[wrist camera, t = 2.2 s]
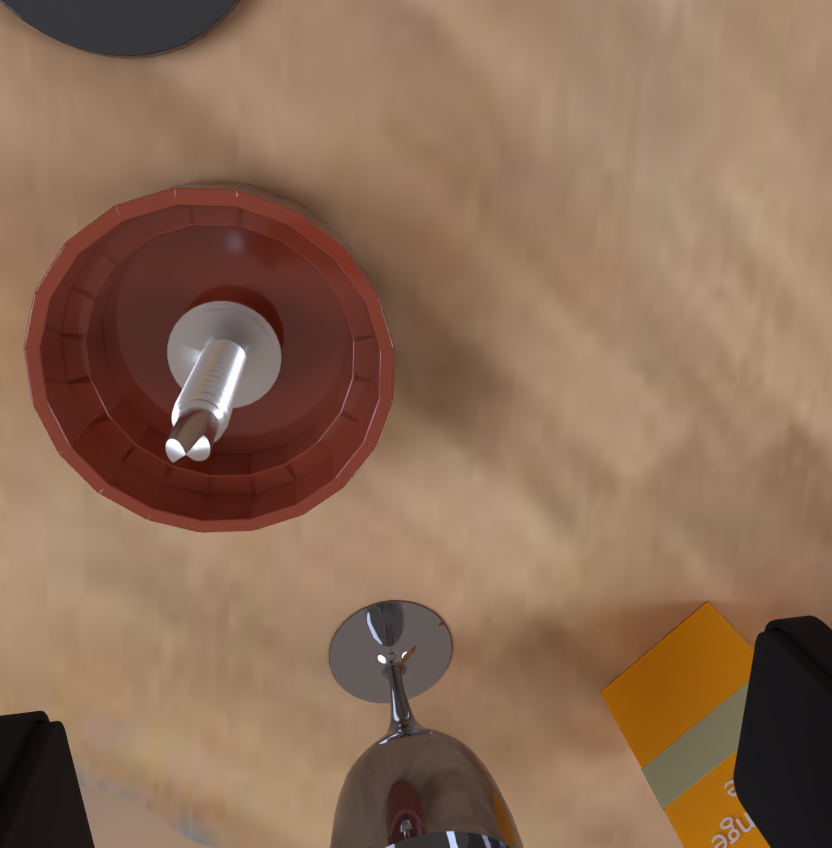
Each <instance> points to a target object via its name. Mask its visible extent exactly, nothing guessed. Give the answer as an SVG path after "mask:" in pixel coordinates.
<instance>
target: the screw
mask: <svg viewBox="0 0 832 848" xmlns="http://www.w3.org/2000/svg"><path fill="white" fill-rule="evenodd" d="M167 358H168V363H169V367H170V370H171V372H172V374H173V376H174V378H175V380H176V382H177V383H178V384H179V386H180V387H181V388H182V391H181V393H180V395H179V397H178V399H177V401H176V403H175V406H174V409H173V413H172V424H173V429H172V431H171V433H170V435H169V438H168V440H167V443H166V453H167V456H168V458H169V459H170V460H171V461H172V462H175V461H176V460H178V459H180V458H181V457H183V456H184V455H187V456H188V457H190V458H191V459H193V460H195V461H203V460H205V459H207V458H208V457H209V455H210V452H211V448H212V445H213V443H214V442H216V441H217V440H218V439H219V438H220V437H221V436H222V434H223V433H224V431H225V430H226V428H227V426H228V423H229V420H230V417H231V413H232V409H233V408H238V407H242V406H245V405H249V404H251V403H253V402H255V401H256V400H258V399H260V398H261V397H262V396H263V395H265V394H266V393H267V392H268V391H269V390H270V388H271V387H272V386H273V384H274V383H275V381H276V379H277V376H278V374H279V371H280V365H281V359H282V357H281V346H280V342H279V339H278V336H277V334H276V332H275V330H274V329H273V327H272V325H271V324H270V323H269V322H268V320H267V319H266V318H265V317H264V316H263V315H262V314H260V313H259V312H258V311H256V310H255V309H254V308H252V307H249V306H247V305H245V304H243V303H240V302H235V301H231V300H214V301H208V302H204V303H202V304H199V305H197V306H195V307H193V308H192V309H190V310H189V311H188V312H186V313H185V314H184V315H183V316H182V317H181V318H180V319H179V321H178V322H177V323H176V324H175V326H174V328H173V330H172V332H171V334H170V337H169V342H168V346H167Z"/></svg>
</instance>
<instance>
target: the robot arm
mask: <svg viewBox="0 0 832 848" xmlns="http://www.w3.org/2000/svg"><path fill="white" fill-rule="evenodd" d="M733 782H734V788H735V791H736V794H737V797H738V799H739V801H740V803H741V805H742V806H743V808H744V809H745V811H746V812H747V814H748V815H749V817H750V818H751V820H752V821H753V822H754V824H755V825H756V827H757V828H758V830H759V831H760V833H761V834H762V836H763V837H764V839H765V840H766V841H767V843H768V844H769V846H770V847H771V848H832V630H831V629H830V628H829V627H828V626H827V625H826V624H825V623H823V622H822V621H821V620H819V619H818V618H816V617H814V616H801V617H793V618H785V619H777V620H773V621H770V622H769V623H768V624H767V625H766V628H765V631H764V632H762V633H760V634H759V635H758V636H757V639H756V643H755V649H754V655H753V661H752V667H751V672H750V678H749V684H748V690H747V696H746V702H745V708H744V714H743V720H742V726H741V732H740V738H739V744H738V750H737V756H736V762H735V768H734V774H733ZM0 848H95V847H94V844H93V839H92V835H91V831H90V828H89V823H88V819H87V815H86V811H85V808H84V804H83V800H82V796H81V792H80V788H79V784H78V780H77V776H76V772H75V768H74V764H73V760H72V756H71V752H70V748H69V744H68V740H67V736H66V732H65V729H64V726H63V724H62V723H61V722H60V721H54V722H50V721H49V718H48V716H47V715H46V713H45V712H44V711H35V712H27V713H19V714H11V715H3V716H0Z"/></svg>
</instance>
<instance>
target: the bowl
mask: <svg viewBox="0 0 832 848" xmlns="http://www.w3.org/2000/svg"><path fill="white" fill-rule="evenodd" d="M35 291H36V292H35V293H34V297H33V302H32V307H31V312H30V317H29V322H28V327H27V332H26V337H25V342H24V347H25V348H24V354H25V360H26V367H27V373H28V379H29V386H30V392H31V398H32V403H33V406H34V408H35V409H36V411H37V413H38V415H39V417H40V419H41V421H42V423H43V425H44V427H45V428H46V430H47V432H48V434H49V436H50V438H51V440H52V442H53V444H54V446H55V447H56V449H57V451H58V452H59V455H60V456H61V457H62V458H63V459H64V460H65V461H66V462H67V463H68V464H69V465H70V466H71V467H72V468H73V469H74V470H75V471H76V472H77V473H78V474H79V475H80V476H81V477H82V478H84V479H85V480H86V481H87V482H88V483H89V484H90V485H91V486H92V487H93V488H94V489H95V490H96V491H97V492H98V493H100V494H101V495H103V496H105V497H106V498H108V499H110V500H112V501H114V502H115V503H117V504H119V505H121V506H123V507H125V508H126V509H128V510H130V511H132V512H134V513H135V514H137V515H139V516H141V517H143V518H144V519H148V520H150V521H154V522H158V523H162V524H166V525H171V526H175V527H179V528H183V529H187V530H191V531H196V532H231V531H252V530H257V529H260V528H263V527H266V526H270V525H273V524H276V523H279V522H282V521H285V520H288V519H292V518H295V517H298V516H301V515H303V514H305V513H306V512H308V511H309V510H311V509H312V508H314V507H315V506H317V505H318V504H320V503H321V502H323V501H324V500H326V499H327V498H328V497H330V496H331V495H333V494H334V493H336V492H337V491H339V490H340V489H342V488H343V487H344V486H345V485H346V484H347V483H348V481H349V480H350V479H351V477H352V476H353V475H354V474H355V472H356V471H357V470H358V469H359V467H360V466H361V465H362V464H363V462H364V461H365V460H366V459H367V457H368V456H369V455H370V454H371V452H372V451H373V450H374V448H375V446H376V444H377V442H378V439H379V436H380V434H381V431H382V428H383V425H384V423H385V420H386V417H387V415H388V412H389V409H390V407H391V404H392V400H393V380H394V345H393V342H392V338H391V335H390V332H389V329H388V325H387V322H386V319H385V315H384V312H383V309H382V305H381V302H380V299H379V296H378V294H377V292H376V290H375V288H374V286H373V284H372V282H371V280H370V278H369V276H368V274H367V272H366V271H365V269H364V268H363V267H362V265H361V264H360V262H359V261H358V259H357V258H356V257H355V255H354V254H353V252H352V251H351V249H350V248H349V246H348V245H347V244H346V242H345V241H344V239H343V238H342V236H340V235H339V233H338V232H336V231H335V230H334V229H332V228H331V227H330V226H328V225H327V224H326V223H325V222H323V221H322V220H321V219H319V218H318V217H317V216H316V215H314V214H313V213H312V212H310V211H309V210H308V209H306V208H305V207H304V206H303V205H301V204H299V203H298V202H296V201H294V200H291V199H288V198H285V197H283V196H280V195H277V194H274V193H272V192H269V191H266V190H263V189H261V188H258V187H255V186H252V185H250V184H248V185H247V184H239V183H210V182H194V183H188V184H185V185H181V186H178V187H174V188H171V189H167V190H164V191H161V192H158V193H154V194H151V195H148V196H144V197H141V198H138V199H134V200H131V201H128V202H125V203H121V204H118V205H116V206H114V207H112V208H110V209H109V210H108V211H106V212H105V213H104V214H102V215H101V216H100V217H98V218H97V219H96V220H94V221H93V222H92V223H90V224H89V225H88V226H86V227H85V228H84V229H82V230H81V231H80V232H78V233H77V234H76V235H74V236H73V237H72V238H70V239H69V240H68V241H67V243H65V244H64V246H63V247H62V249H61V250H60V252H59V253H58V255H57V257H56V258H55V260H54V261H53V263H52V264H51V266H50V268H49V269H48V271H47V272H46V274H45V276H44V277H43V279H42V280H41V282H40V283H39V285H38V287H37V288H36V290H35ZM214 300H231V301H235V302H240V303H243V304H245V305H247V306H249V307H252V308H254V309H255V310H256V311H258V312H259V313H260V314H262V315H263V316H264V317H265V318H266V319H267V320H268V322H269V323H270V324H271V325H272V327H273V329H274V330H275V332H276V334H277V336H278V339H279V342H280V346H281V357H282V359H281V365H280V371H279V374H278V376H277V379H276V381H275V383H274V384H273V386H272V387H271V388H270V390H269V391H268V392H267V393H266V394H265V395H263V396H262V397H261V398H260V399H258V400H256V401H255V402H253V403H251V404H249V405H245V406H242V407H238V408H233V409H232V413H231V417H230V420H229V423H228V426H227V428H226V430H225V431H224V433H223V434H222V436H221V437H220V438H219V439H218V440H217V441H216V442H214V443H213V445H212V448H211V452H210V455H209V457H208V458H207V459H205V460H203V461H195V460H193V459H191V458H190V457H188V456H187V455H184V456H183V457H181V458H180V459H178V460H176V461H175V462H172V461H171V460H170V459H169V458H168V456H167V453H166V443H167V440H168V438H169V435H170V433H171V431H172V429H173V424H172V413H173V409H174V406H175V403H176V401H177V399H178V397H179V395H180V393H181V391H182V388H181V387H180V386H179V384H178V383H177V382H176V380H175V378H174V376H173V374H172V372H171V370H170V367H169V363H168V358H167V346H168V342H169V337H170V334H171V332H172V330H173V328H174V326H175V324H176V323H177V322H178V321H179V319H180V318H181V317H182V316H183V315H184V314H185V313H186V312H188V311H189V310H190V309H192V308H193V307H195V306H197V305H199V304H202V303H204V302H208V301H214Z"/></svg>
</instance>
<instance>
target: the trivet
mask: <svg viewBox="0 0 832 848" xmlns="http://www.w3.org/2000/svg"><path fill="white" fill-rule="evenodd" d="M239 1H240V0H0V2H1V3H2V4H3V5H5V6H6V7H7V8H8V9H9V10H11V11H12V12H13V13H14V14H16V15H17V16H18V17H19V18H21V19H22V20H23V21H25V22H26V23H28V24H29V25H31V26H33V27H34V28H36V29H37V30H39V31H40V32H42V33H44V34H46V35H48V36H50V37H52V38H54V39H56V40H58V41H60V42H62V43H64V44H66V45H69V46H72V47H75V48H77V49H80V50H83V51H86V52H89V53H93V54H98V55H103V56H108V57H117V58H145V57H153V56H158V55H162V54H167V53H171V52H173V51H176V50H179V49H181V48H184V47H186V46H189V45H190V44H192V43H194V42H196V41H197V40H199V39H201V38H203V37H204V36H206V35H207V34H208V33H210V32H211V31H212V30H213V29H215V28H216V27H217V26H218V25H220V24H221V23H222V21H223V20H224V19H225V18H226V17H227V16H228V15H229V14H230V13H231V12H232V11H233V10H234V8H235V7H236V5H237V4H238V3H239Z"/></svg>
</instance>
